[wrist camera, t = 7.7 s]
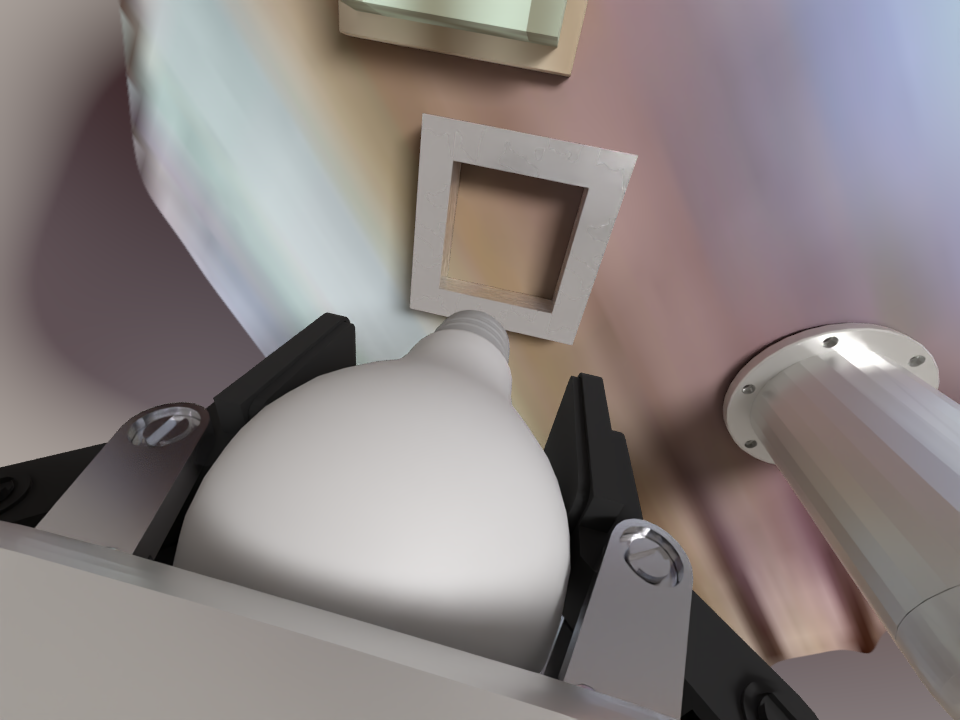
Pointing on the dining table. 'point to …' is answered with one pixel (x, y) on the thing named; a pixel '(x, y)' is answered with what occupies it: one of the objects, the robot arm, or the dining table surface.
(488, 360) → the lightbulb
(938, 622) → the robot arm
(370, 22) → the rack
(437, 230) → the socket
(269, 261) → the dining table surface
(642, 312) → the dining table surface
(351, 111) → the dining table surface
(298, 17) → the dining table surface
